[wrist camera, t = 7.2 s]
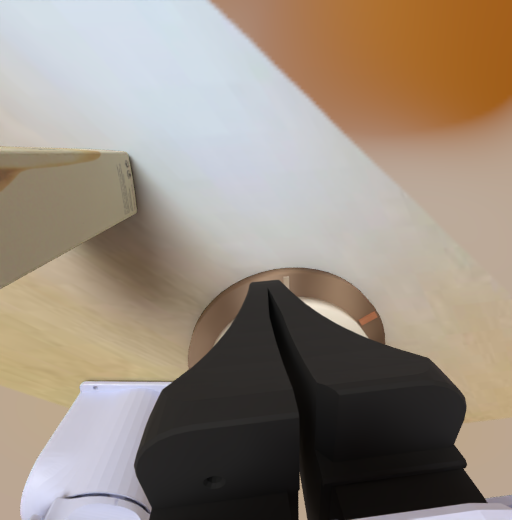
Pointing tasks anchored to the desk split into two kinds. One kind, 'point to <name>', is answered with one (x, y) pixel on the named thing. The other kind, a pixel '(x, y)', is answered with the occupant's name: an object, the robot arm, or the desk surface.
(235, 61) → the desk surface
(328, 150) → the desk surface
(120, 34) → the desk surface
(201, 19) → the desk surface
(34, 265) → the skincare box
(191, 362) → the dial base
